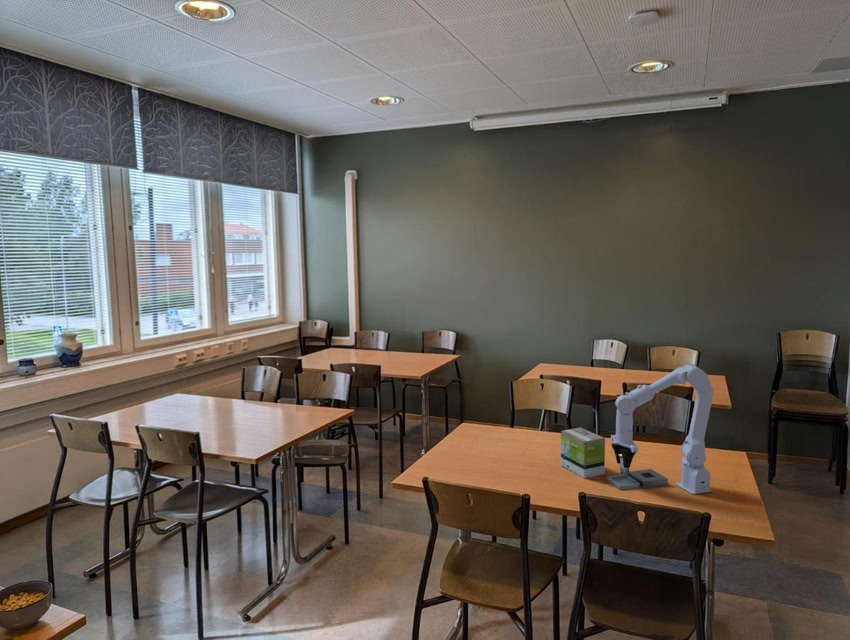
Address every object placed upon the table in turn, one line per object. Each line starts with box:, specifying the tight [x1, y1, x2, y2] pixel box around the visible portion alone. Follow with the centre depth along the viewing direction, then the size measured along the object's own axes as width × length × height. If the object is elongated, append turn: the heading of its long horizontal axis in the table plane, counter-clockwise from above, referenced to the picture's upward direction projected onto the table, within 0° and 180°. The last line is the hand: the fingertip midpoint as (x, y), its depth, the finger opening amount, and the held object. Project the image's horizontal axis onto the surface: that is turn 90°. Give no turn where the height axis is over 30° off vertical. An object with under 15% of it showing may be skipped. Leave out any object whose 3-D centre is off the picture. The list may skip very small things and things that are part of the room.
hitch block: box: [628, 468, 669, 489], centre depth 215 cm, size 10×10×2 cm
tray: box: [606, 474, 641, 491], centre depth 213 cm, size 9×8×2 cm
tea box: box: [560, 427, 606, 479], centre depth 227 cm, size 15×10×15 cm
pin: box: [618, 452, 630, 476], centre depth 212 cm, size 4×4×8 cm
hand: (623, 465), depth 212 cm, fingers closed on pin, 4 cm apart
